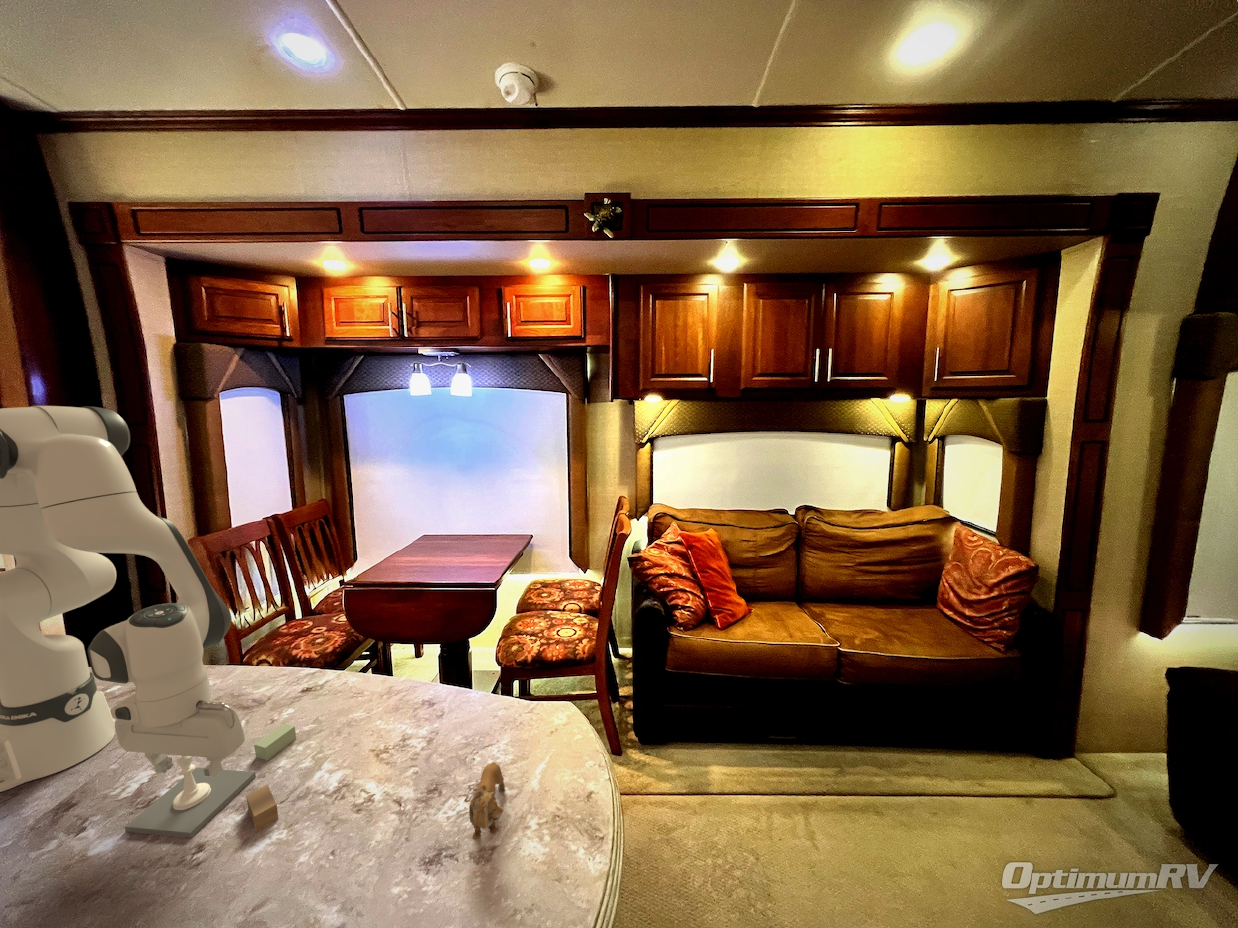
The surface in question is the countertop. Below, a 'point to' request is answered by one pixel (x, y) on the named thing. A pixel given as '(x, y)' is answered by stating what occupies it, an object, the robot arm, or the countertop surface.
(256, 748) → the sage brick
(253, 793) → the walnut brick
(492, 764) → the lion figurine
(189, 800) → the chess piece
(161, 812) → the slate tile
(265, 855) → the countertop surface
